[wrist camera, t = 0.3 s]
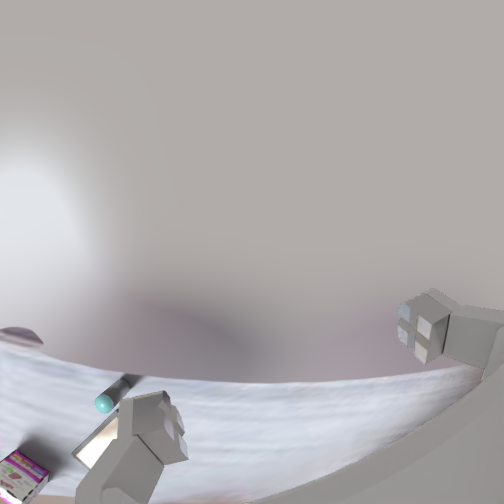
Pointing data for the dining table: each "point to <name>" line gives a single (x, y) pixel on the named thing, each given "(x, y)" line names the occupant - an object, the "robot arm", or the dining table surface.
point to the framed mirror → (97, 442)
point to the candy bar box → (21, 479)
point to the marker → (112, 396)
